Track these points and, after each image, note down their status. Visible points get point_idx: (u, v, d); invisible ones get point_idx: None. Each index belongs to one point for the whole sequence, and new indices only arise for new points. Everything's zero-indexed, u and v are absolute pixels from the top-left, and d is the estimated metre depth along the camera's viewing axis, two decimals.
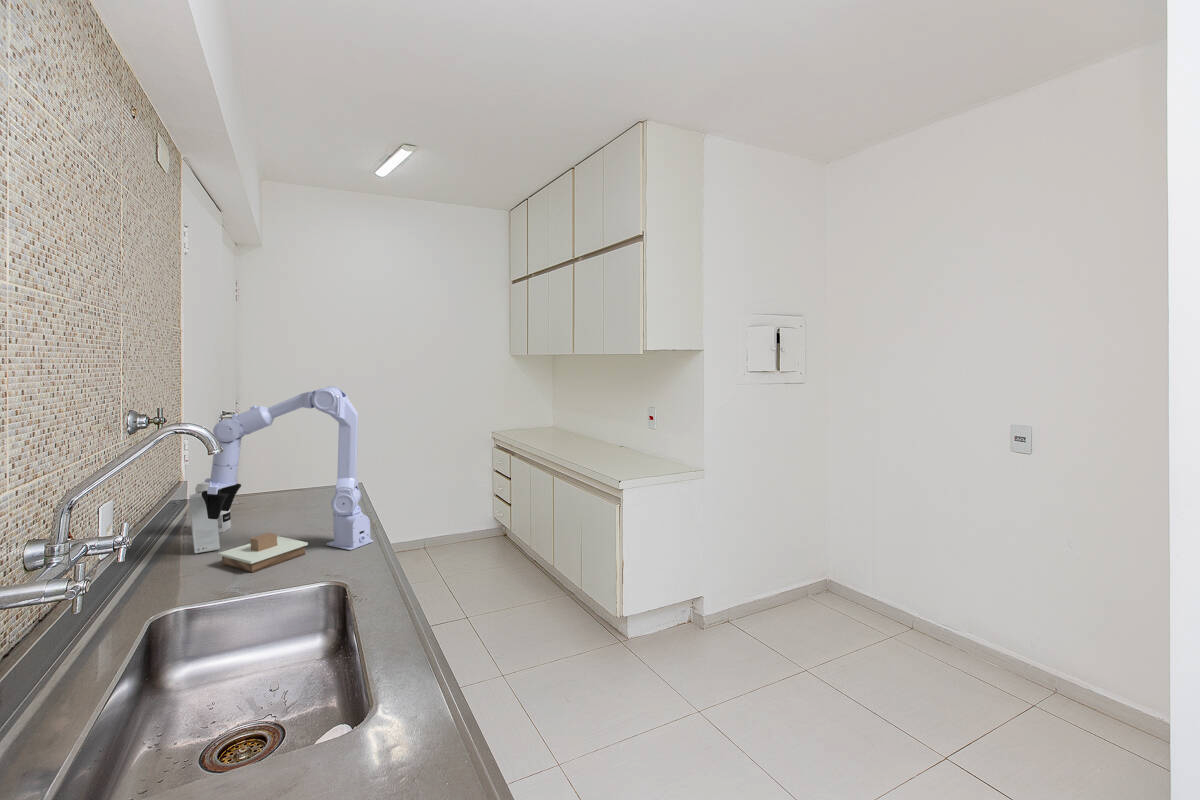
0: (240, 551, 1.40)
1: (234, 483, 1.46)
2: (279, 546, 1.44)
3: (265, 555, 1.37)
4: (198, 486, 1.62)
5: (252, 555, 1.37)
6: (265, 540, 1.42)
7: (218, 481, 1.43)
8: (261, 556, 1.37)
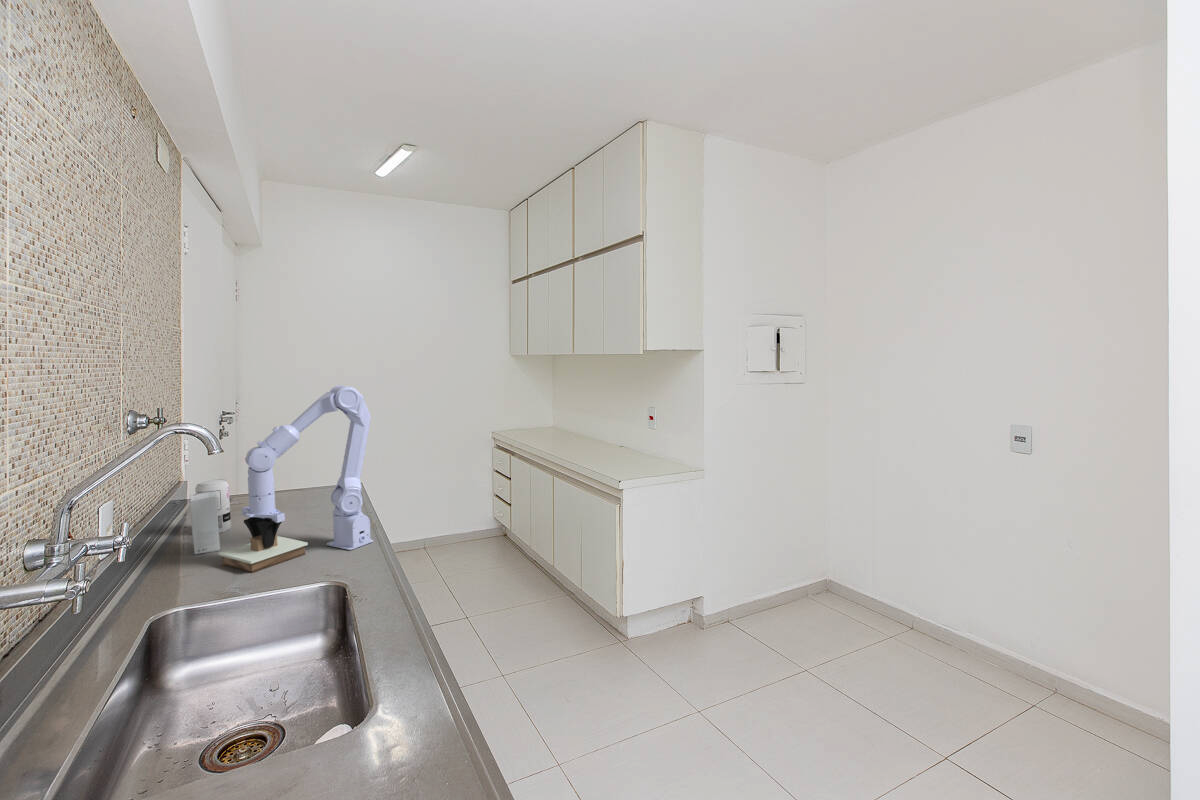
0: (240, 551, 1.40)
1: None
2: (279, 546, 1.44)
3: (265, 555, 1.37)
4: (198, 486, 1.62)
5: (252, 555, 1.37)
6: None
7: (268, 510, 1.41)
8: (261, 556, 1.37)
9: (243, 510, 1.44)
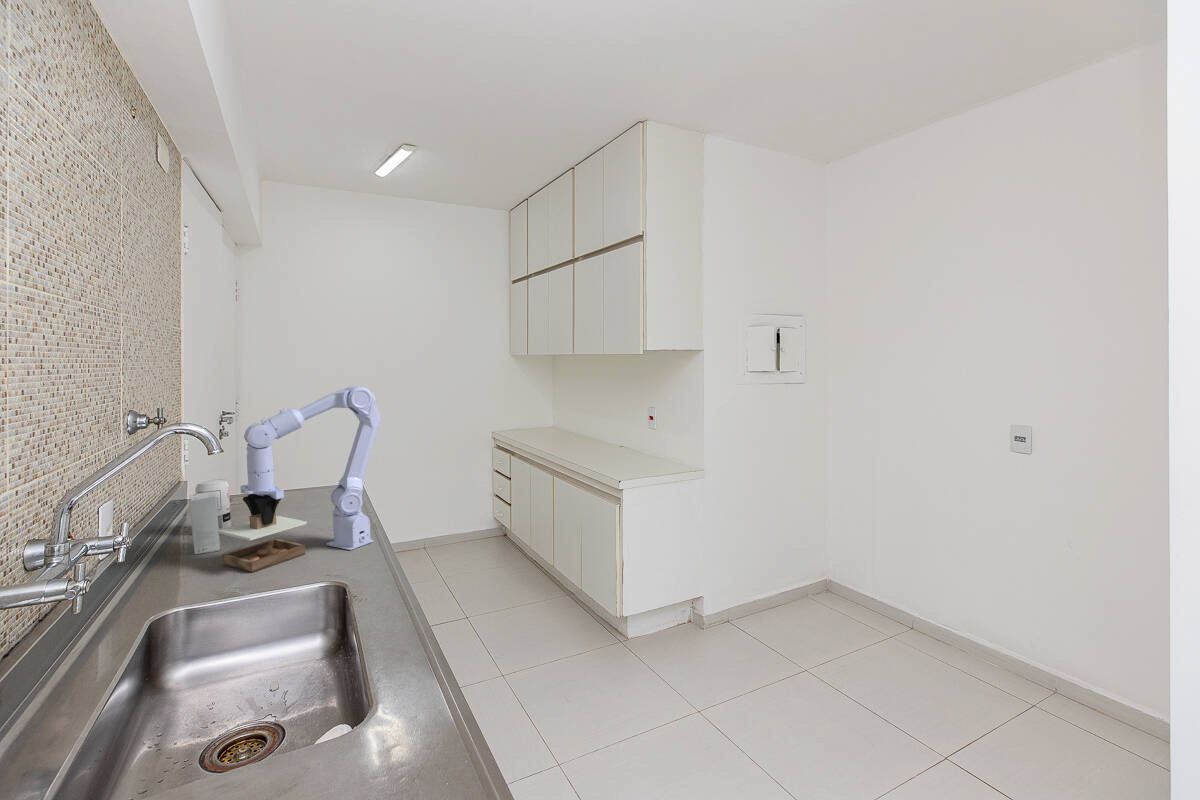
0: (239, 528, 1.40)
1: None
2: (278, 524, 1.43)
3: (264, 532, 1.37)
4: (198, 486, 1.62)
5: (251, 532, 1.37)
6: None
7: (267, 487, 1.40)
8: (260, 533, 1.36)
9: (242, 488, 1.43)
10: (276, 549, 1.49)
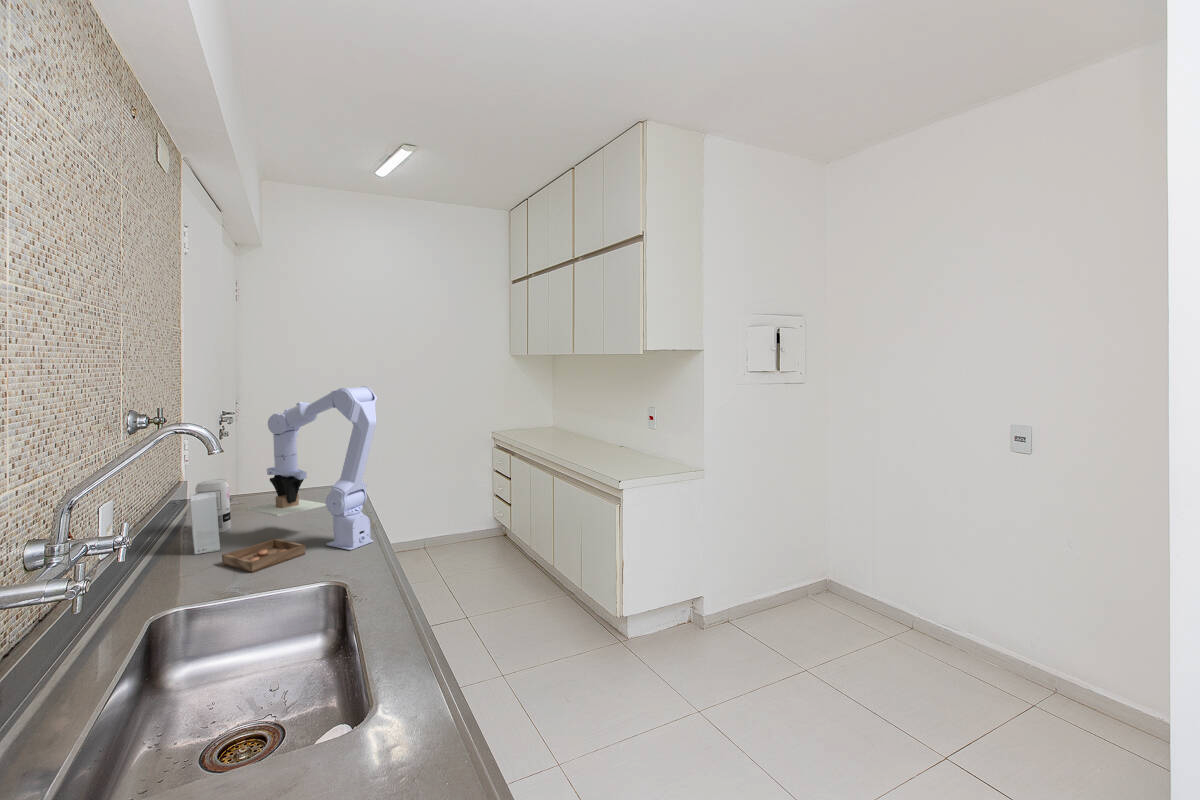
0: (266, 507, 1.57)
1: None
2: (300, 505, 1.61)
3: (289, 510, 1.54)
4: (198, 486, 1.62)
5: (277, 510, 1.54)
6: None
7: (292, 469, 1.58)
8: (285, 511, 1.54)
9: (268, 470, 1.61)
10: (276, 549, 1.49)
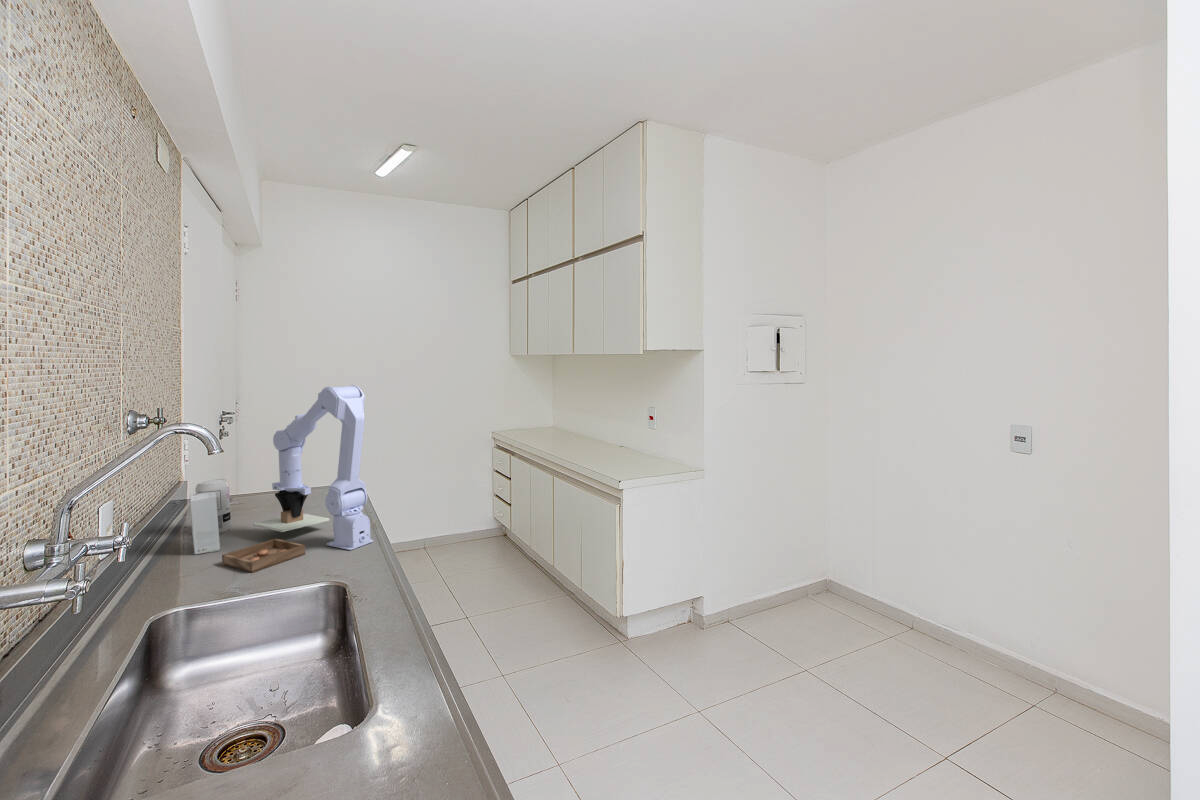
0: (271, 522, 1.61)
1: None
2: (305, 520, 1.64)
3: (294, 526, 1.58)
4: (198, 486, 1.62)
5: (282, 526, 1.58)
6: None
7: (296, 485, 1.61)
8: (290, 526, 1.57)
9: (274, 485, 1.65)
10: (276, 549, 1.49)
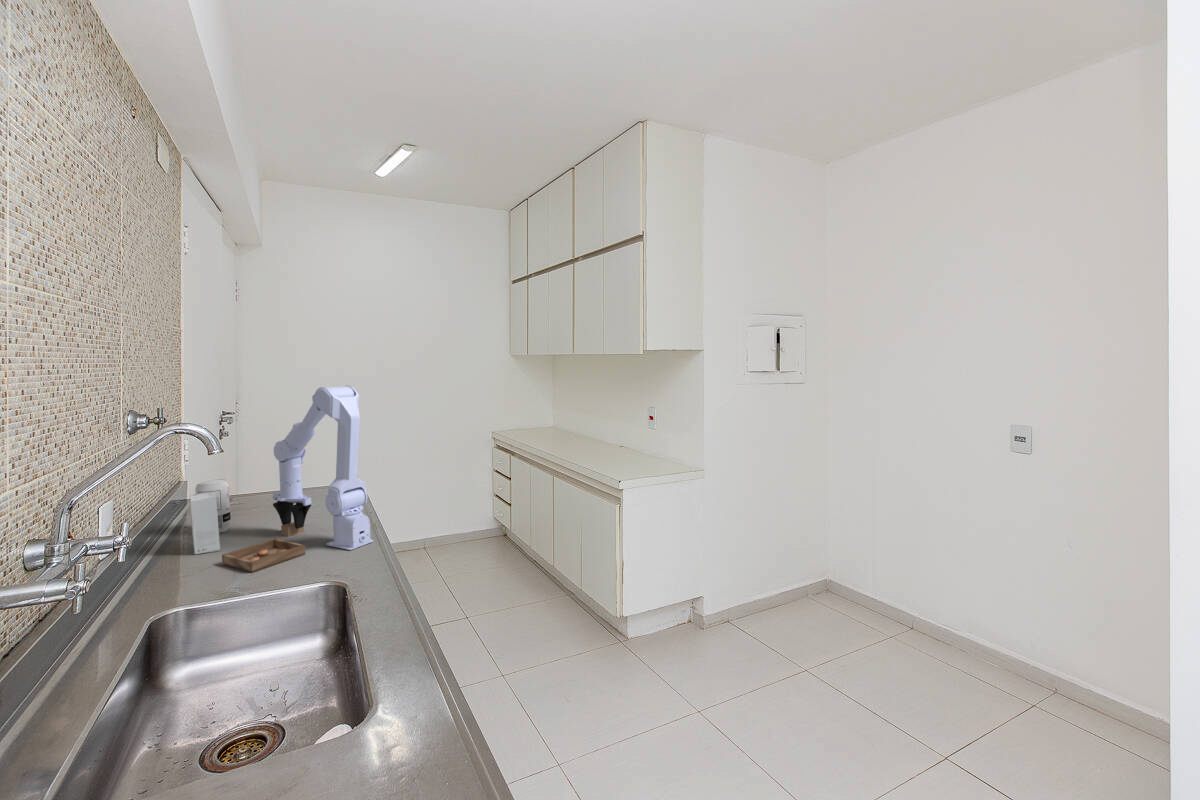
0: None
1: None
2: None
3: None
4: (198, 486, 1.62)
5: None
6: (294, 527, 1.63)
7: (297, 495, 1.62)
8: None
9: (274, 495, 1.65)
10: (276, 549, 1.49)
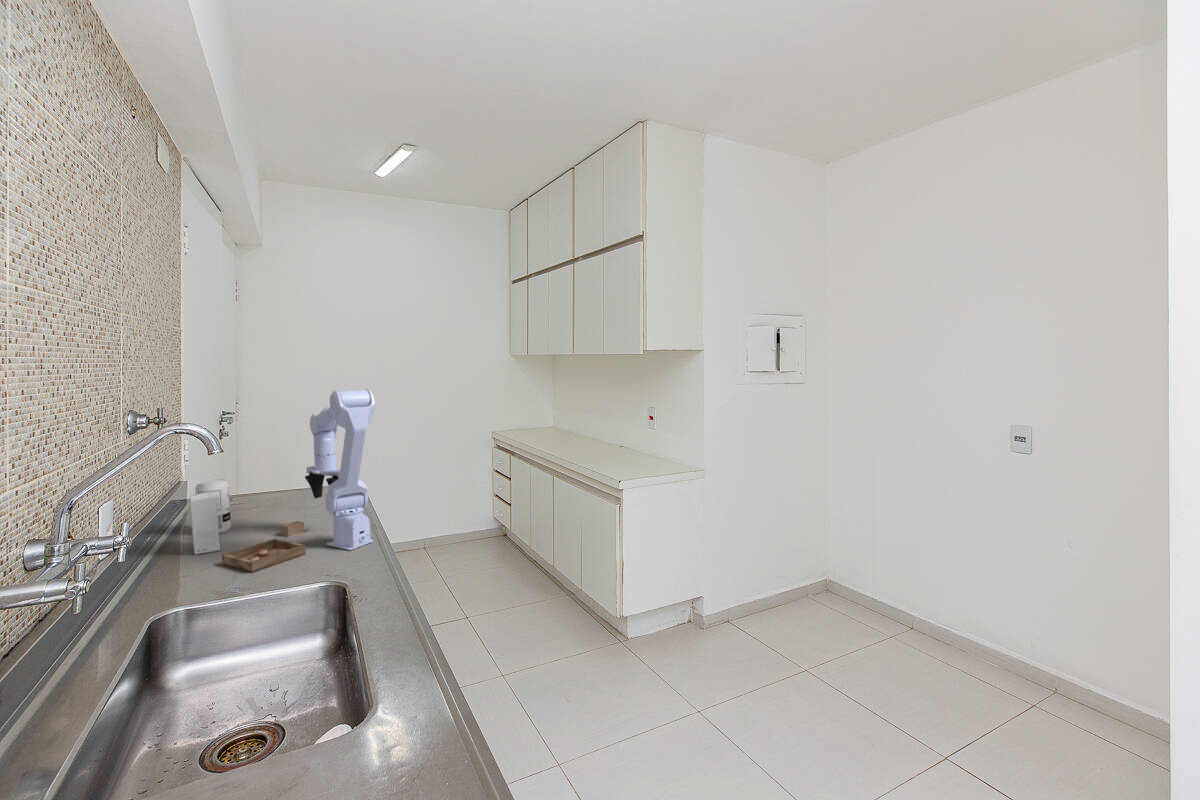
0: None
1: None
2: None
3: None
4: (198, 486, 1.62)
5: None
6: (294, 527, 1.63)
7: (331, 468, 1.65)
8: None
9: (308, 469, 1.68)
10: (276, 549, 1.49)
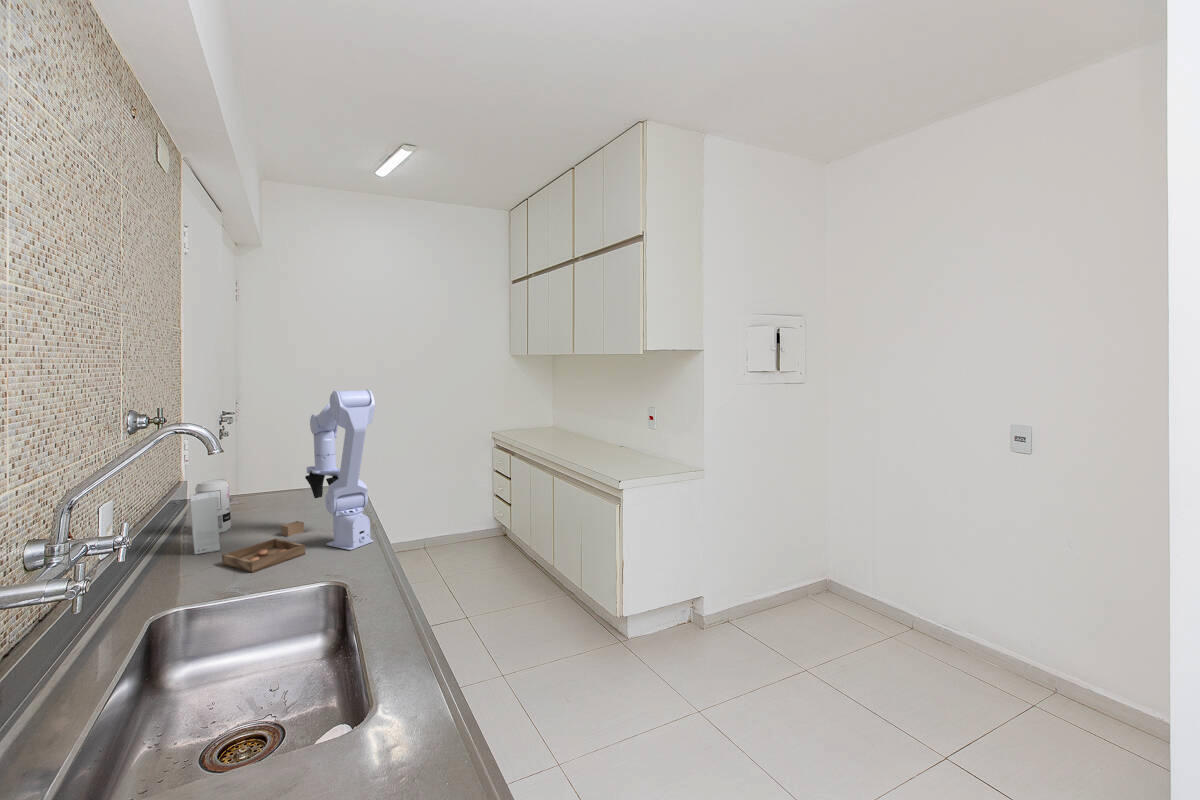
0: None
1: None
2: None
3: None
4: (198, 486, 1.62)
5: None
6: (294, 527, 1.63)
7: (331, 468, 1.65)
8: None
9: (308, 469, 1.68)
10: (276, 549, 1.49)
